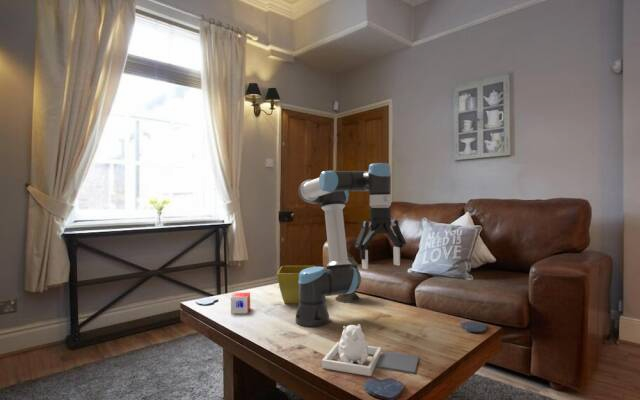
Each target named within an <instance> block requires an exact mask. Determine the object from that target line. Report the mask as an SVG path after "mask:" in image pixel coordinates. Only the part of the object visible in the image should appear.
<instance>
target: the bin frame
mask: <svg viewBox="0 0 640 400" xmlns="http://www.w3.org/2000/svg"><path fill="white" fill-rule="evenodd" d="M339 342H340V341H336V343H335V344H334V345H333V347H332V348H331V349H330V350H329V351H328V352H327V354H326V355H325V356H324V357H323V358H322V359H321V367H322V369H327V370H332V371H333V370H334V371H339V372H344V373H350V374H355V375H361V376H366V377H367V376H368V377H371V376H372V374H373V372H374V370H375V368H376V366H377V364H378V362H379V360H380V358H381V356H382V347H381V346H372V345H368V347H366V349H367V354H368V355H373V356H372V358H371V360H370V362H369V364H368V365H364V364H363V365H359V364H358V363H353V364H352V363H350V362H349V363H345V362H343V361H339V360H333V359H334V358H335V357H336V355H337V354H338V353H339V351H338V350H339Z"/></svg>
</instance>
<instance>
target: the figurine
mask: <svg viewBox="0 0 640 400" xmlns="http://www.w3.org/2000/svg"><path fill="white" fill-rule="evenodd" d="M342 328H343V330H342V333H341V336H340V339H339V341H338V342H339V350H338V357H339V358H340V359H339V360H341V361H340V362H345V363H352V364H354V363H356V364H358V365H364V364H365V362H366V361H367V359H368V358H369V354H367V349H366V347H368V346H369V343H368V341H366V339H365V333H364V332H363V331H362V330H363V329H362V327H361V324H360V323H358V324H357V325H355V324H349V325H346V326H345V325H343V326H342Z"/></svg>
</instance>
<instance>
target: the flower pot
mask: <svg viewBox="0 0 640 400" xmlns="http://www.w3.org/2000/svg"><path fill="white" fill-rule="evenodd" d="M310 267H316V266H315V265H281V266H280V268H279V270H278V271H277V272H276V273H277V274H276V275H277V283H278V288H279V289H280V290H279V291H280V293H281V297H282V300H283V302H284V304H299V283H298V281H299V273H300V272H301V271H302V270H304V269H306V268H310Z"/></svg>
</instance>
